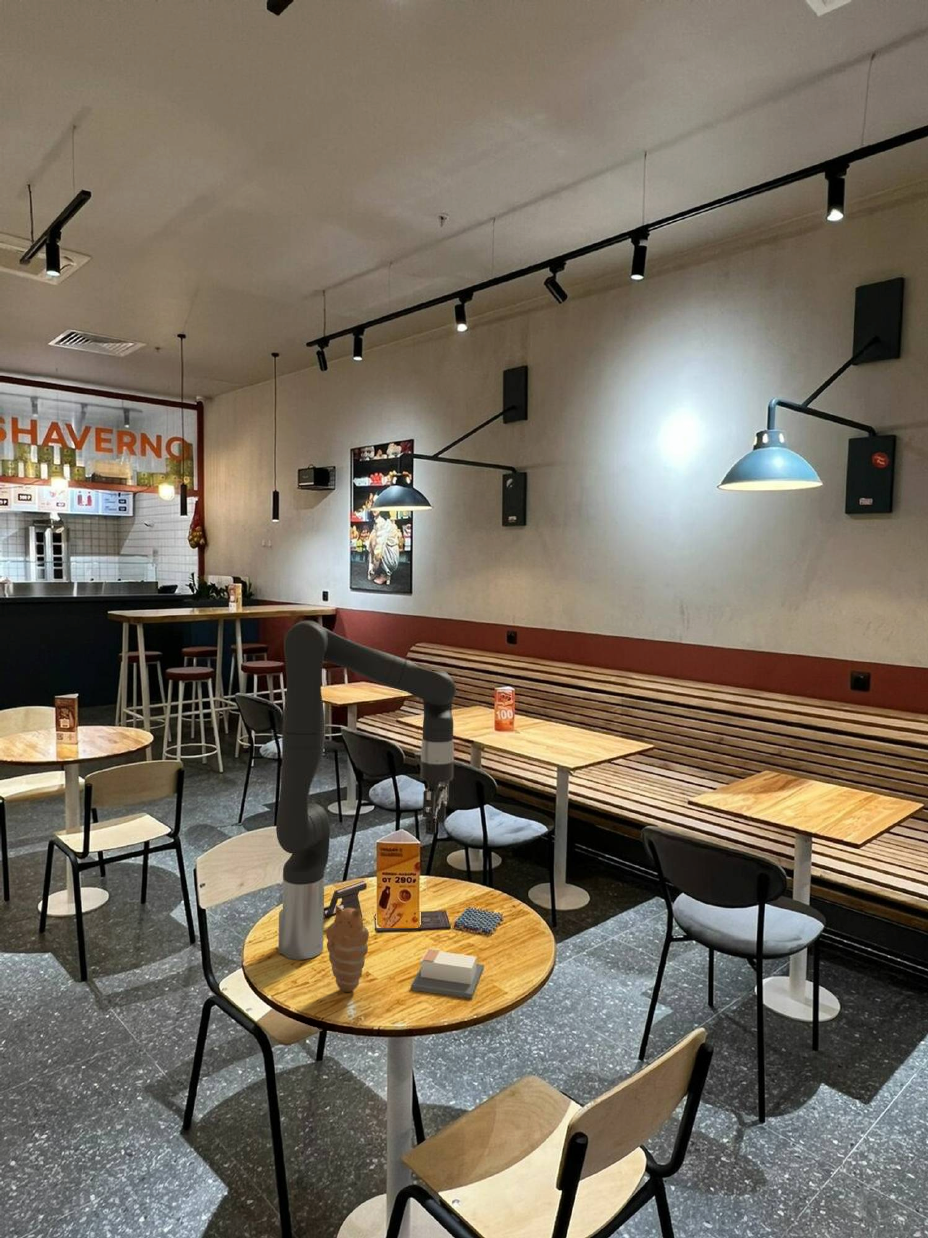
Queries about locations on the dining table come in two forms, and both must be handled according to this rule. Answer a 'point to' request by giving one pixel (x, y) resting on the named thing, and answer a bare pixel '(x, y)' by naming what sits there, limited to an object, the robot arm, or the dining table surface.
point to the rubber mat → (447, 985)
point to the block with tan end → (448, 966)
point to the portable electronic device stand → (345, 898)
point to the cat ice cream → (347, 947)
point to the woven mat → (478, 921)
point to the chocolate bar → (424, 922)
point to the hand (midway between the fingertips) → (435, 827)
